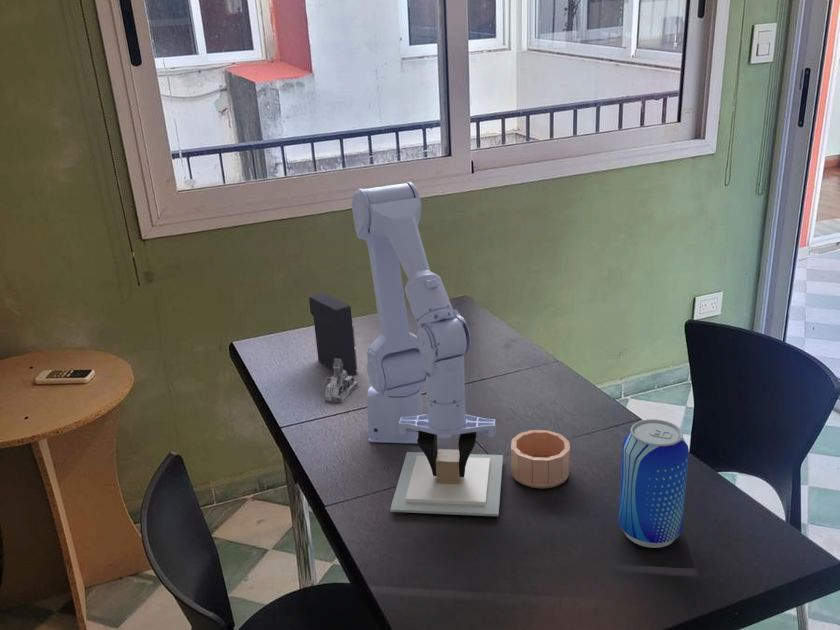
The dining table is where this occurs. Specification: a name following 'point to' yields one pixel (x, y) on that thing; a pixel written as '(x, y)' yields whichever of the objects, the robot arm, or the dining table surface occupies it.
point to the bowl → (540, 458)
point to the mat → (457, 509)
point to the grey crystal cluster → (339, 383)
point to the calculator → (334, 332)
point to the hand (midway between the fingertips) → (449, 473)
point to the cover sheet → (447, 491)
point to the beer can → (653, 483)
